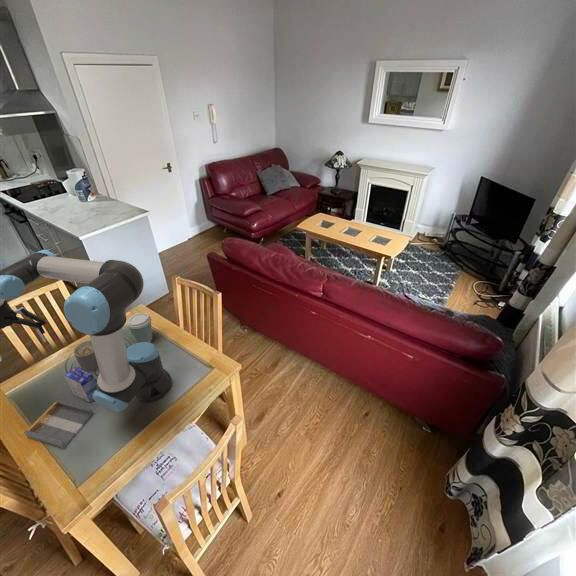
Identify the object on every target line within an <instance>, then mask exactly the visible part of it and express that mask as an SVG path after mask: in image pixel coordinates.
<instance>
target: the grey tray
mask: <svg viewBox="0 0 576 576" xmlns="http://www.w3.org/2000/svg"><path fill="white" fill-rule="evenodd" d="M94 414H95V413H94V411H93V410H92V409H91V408H87V407H85V406H81V405H77V404H74V403H71V402H66V401H63V400H59V399H56V400H55V401H54V402H53V403H52V404H51V405H50V406H49V407H48V408H47V409H46V410H45V411H44V412H43V413H42V415H40V416H39V417H38V418H37V419H36V420H35V421H34V422H33V423H32V424H31V425H30V426H29V427H28V428H27V429H26V430H25V431H24V432H23V433H24V435H25V436H26V437H27V438H29V439H32V440H37V441H39V442H41V443H42V442H43V443H45V444H49V445H52V446H55V447H58V448H62V449H65V448H66V447H67V446H68V445H69V444H70V443H71V441H72V440H73V439H74V438H75V437H76V435H77V434H78V433H79V432H80V431H81V430H82V428H83V427H84V426H85V425H86V424H87V422H89V420H91V418H92V417H93V416H94Z"/></svg>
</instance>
